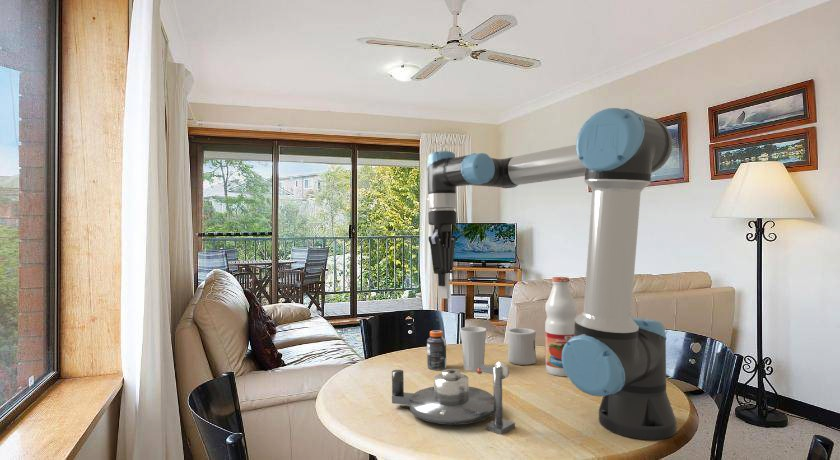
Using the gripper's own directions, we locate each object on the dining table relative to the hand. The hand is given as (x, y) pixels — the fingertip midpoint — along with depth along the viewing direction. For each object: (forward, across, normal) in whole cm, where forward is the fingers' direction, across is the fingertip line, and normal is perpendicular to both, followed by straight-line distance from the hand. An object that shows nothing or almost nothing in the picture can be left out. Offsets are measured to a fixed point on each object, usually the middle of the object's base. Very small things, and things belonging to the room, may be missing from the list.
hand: (443, 297), depth 127 cm
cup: (+25, -21, 0) cm, 32 cm away
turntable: (+23, +15, +6) cm, 28 cm away
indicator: (+24, +18, +19) cm, 36 cm away
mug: (+25, -35, +11) cm, 44 cm away
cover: (+21, +14, +8) cm, 27 cm away
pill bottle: (+25, -17, -10) cm, 32 cm away
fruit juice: (+25, -28, +26) cm, 45 cm away
